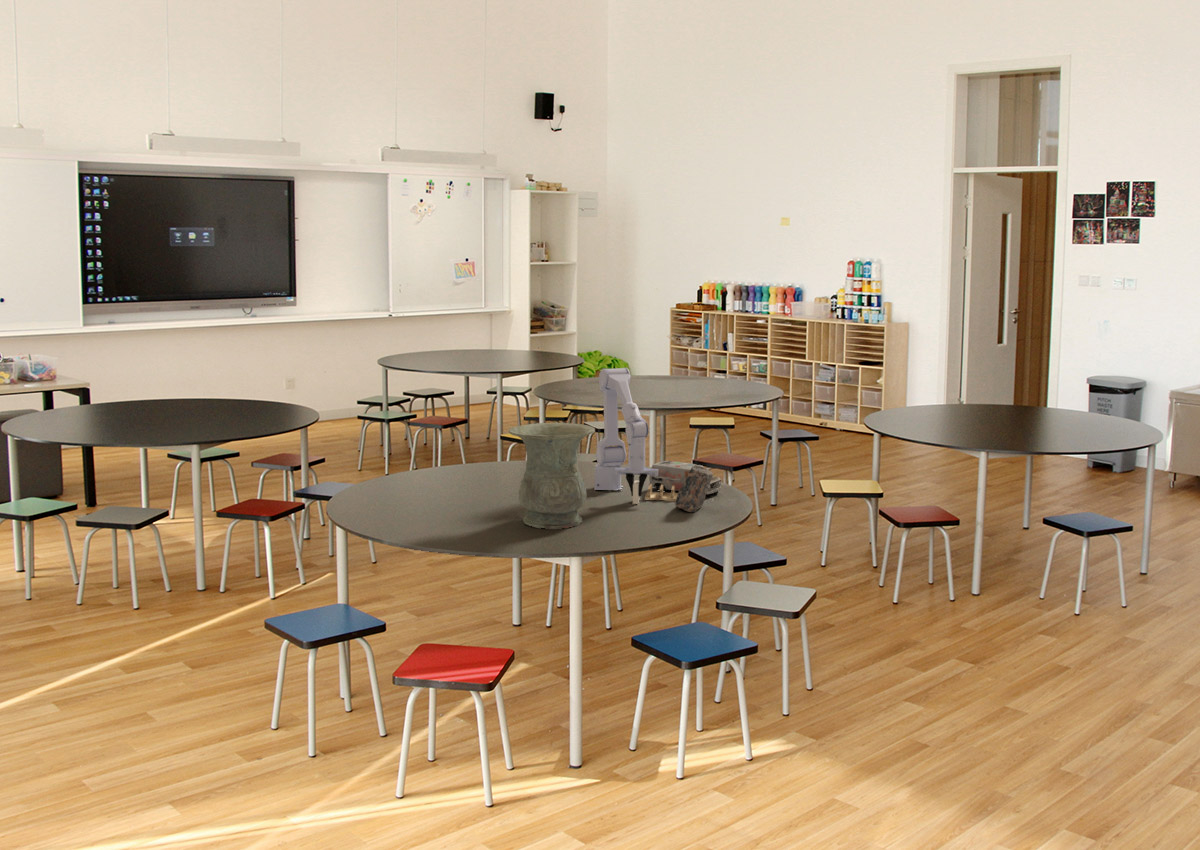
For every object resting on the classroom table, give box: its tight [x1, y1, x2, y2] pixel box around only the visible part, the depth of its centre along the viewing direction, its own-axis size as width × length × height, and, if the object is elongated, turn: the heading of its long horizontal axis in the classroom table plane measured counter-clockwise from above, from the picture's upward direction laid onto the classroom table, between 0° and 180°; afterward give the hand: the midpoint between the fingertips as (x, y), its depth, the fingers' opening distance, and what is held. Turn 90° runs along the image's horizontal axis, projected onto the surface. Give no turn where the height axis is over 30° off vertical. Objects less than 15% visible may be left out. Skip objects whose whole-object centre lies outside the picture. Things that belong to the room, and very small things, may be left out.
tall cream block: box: [632, 479, 641, 505], centre depth 381 cm, size 2×7×7 cm, turn 173°
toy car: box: [648, 460, 722, 498], centre depth 398 cm, size 11×25×10 cm, turn 55°
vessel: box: [508, 422, 596, 530], centre depth 352 cm, size 27×27×30 cm
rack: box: [644, 483, 678, 502], centre depth 388 cm, size 11×9×4 cm
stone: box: [674, 464, 714, 513], centre depth 372 cm, size 13×13×15 cm
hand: (636, 495), depth 381 cm, fingers closed on tall cream block, 2 cm apart
